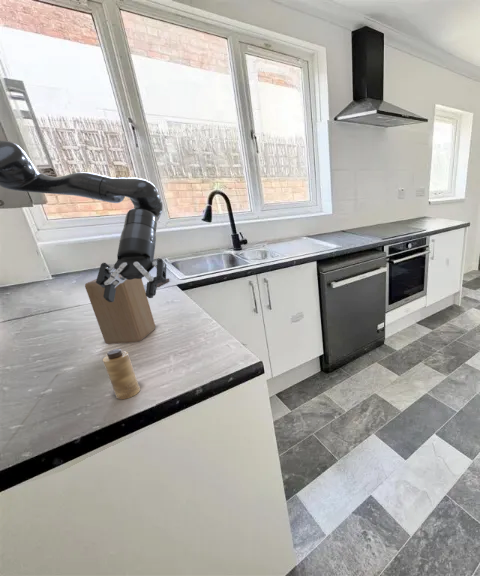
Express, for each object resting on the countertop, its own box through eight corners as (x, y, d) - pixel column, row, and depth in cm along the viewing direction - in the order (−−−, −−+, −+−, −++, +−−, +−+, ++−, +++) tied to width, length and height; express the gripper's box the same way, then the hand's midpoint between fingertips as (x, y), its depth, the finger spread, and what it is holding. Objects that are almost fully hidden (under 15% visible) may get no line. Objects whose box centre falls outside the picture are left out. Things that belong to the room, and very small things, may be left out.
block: (104, 345, 94) (81, 283, 87) (125, 330, 103) (106, 273, 96) (140, 342, 95) (121, 281, 88) (157, 328, 104) (141, 271, 98)
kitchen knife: (165, 274, 153) (118, 294, 125) (167, 274, 153) (121, 294, 125) (167, 282, 155) (121, 303, 126) (169, 282, 155) (124, 303, 126)
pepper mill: (114, 402, 69) (98, 359, 66) (118, 391, 73) (103, 349, 69) (138, 395, 71) (124, 353, 68) (141, 385, 75) (128, 344, 71)
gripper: (173, 250, 88) (168, 301, 81) (115, 254, 85) (105, 308, 78) (161, 234, 81) (154, 289, 75) (97, 238, 78) (84, 295, 71)
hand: (129, 298), depth 76 cm, fingers open, 8 cm apart
